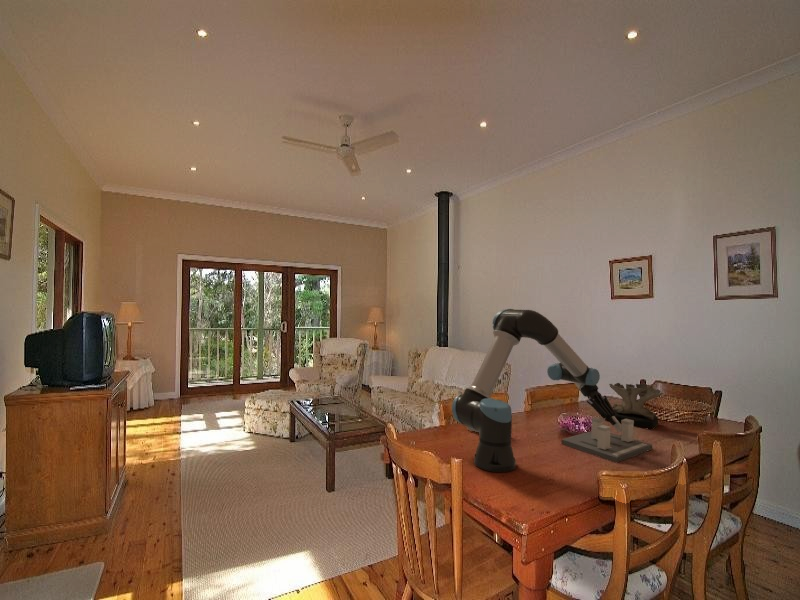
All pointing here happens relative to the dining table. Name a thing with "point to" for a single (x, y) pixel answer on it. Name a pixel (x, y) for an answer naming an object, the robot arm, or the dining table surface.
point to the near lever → (603, 437)
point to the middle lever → (595, 423)
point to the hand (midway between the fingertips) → (621, 430)
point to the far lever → (627, 430)
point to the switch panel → (616, 451)
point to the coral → (635, 404)
